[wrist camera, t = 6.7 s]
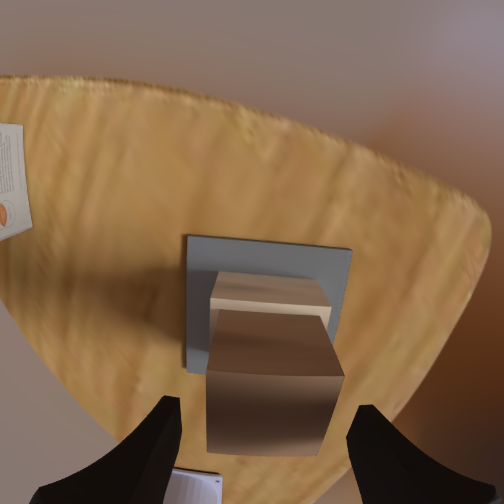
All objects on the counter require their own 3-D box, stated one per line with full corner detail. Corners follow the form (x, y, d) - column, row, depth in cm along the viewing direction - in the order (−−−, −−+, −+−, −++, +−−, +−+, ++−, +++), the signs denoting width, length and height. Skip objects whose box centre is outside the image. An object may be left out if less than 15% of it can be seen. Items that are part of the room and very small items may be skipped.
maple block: (301, 359, 20) (310, 396, 17) (215, 353, 20) (207, 390, 16) (316, 279, 19) (331, 306, 15) (219, 271, 19) (210, 297, 15)
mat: (322, 377, 21) (323, 381, 21) (187, 368, 21) (186, 372, 21) (350, 249, 19) (352, 250, 18) (189, 234, 19) (187, 236, 18)
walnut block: (303, 390, 16) (317, 455, 12) (217, 386, 16) (206, 452, 12) (320, 315, 15) (344, 376, 10) (219, 308, 15) (206, 370, 10)
